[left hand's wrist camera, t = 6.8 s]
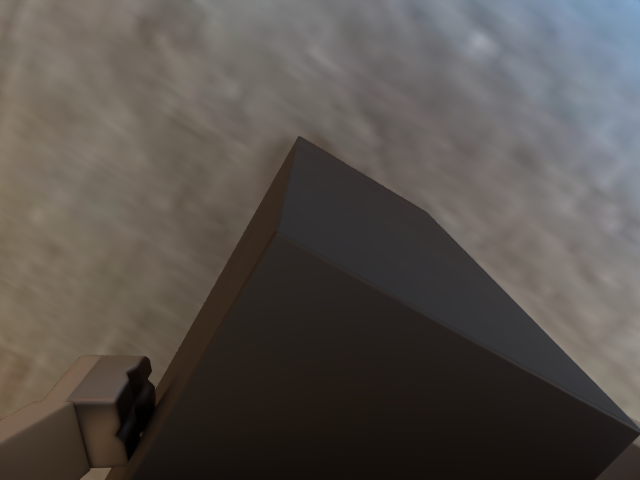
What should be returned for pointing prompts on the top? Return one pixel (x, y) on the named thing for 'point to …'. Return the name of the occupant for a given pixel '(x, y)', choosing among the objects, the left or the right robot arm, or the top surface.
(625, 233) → the top surface
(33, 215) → the top surface
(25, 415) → the left robot arm
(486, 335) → the box
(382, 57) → the top surface
